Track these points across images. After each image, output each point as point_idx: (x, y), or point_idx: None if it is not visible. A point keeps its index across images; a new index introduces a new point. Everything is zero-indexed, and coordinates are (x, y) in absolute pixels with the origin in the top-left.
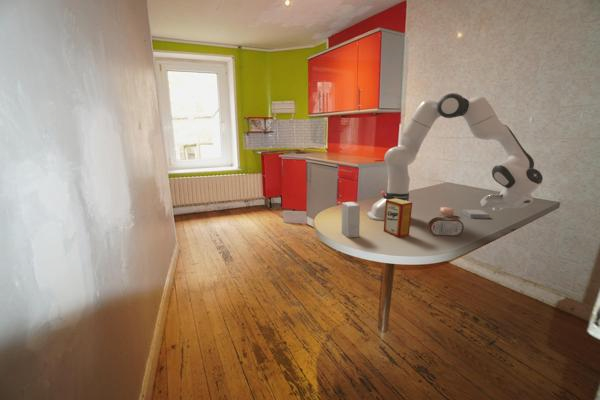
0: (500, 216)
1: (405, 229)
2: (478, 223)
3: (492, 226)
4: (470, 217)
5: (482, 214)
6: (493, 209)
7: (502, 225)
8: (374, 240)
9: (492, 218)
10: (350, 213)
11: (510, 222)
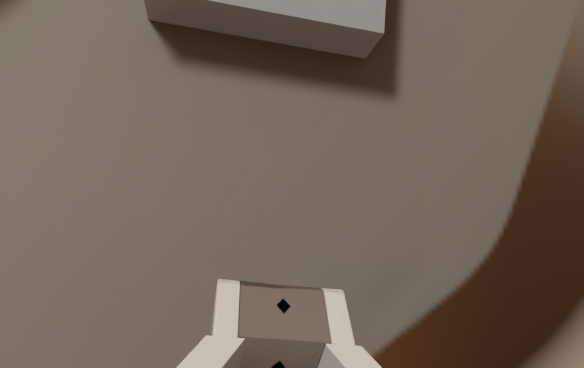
0: (534, 11)
1: None
2: (93, 231)
3: None
4: (149, 16)
5: (298, 19)
6: (211, 326)
7: None
8: None
9: (407, 63)
10: None
11: (508, 213)
